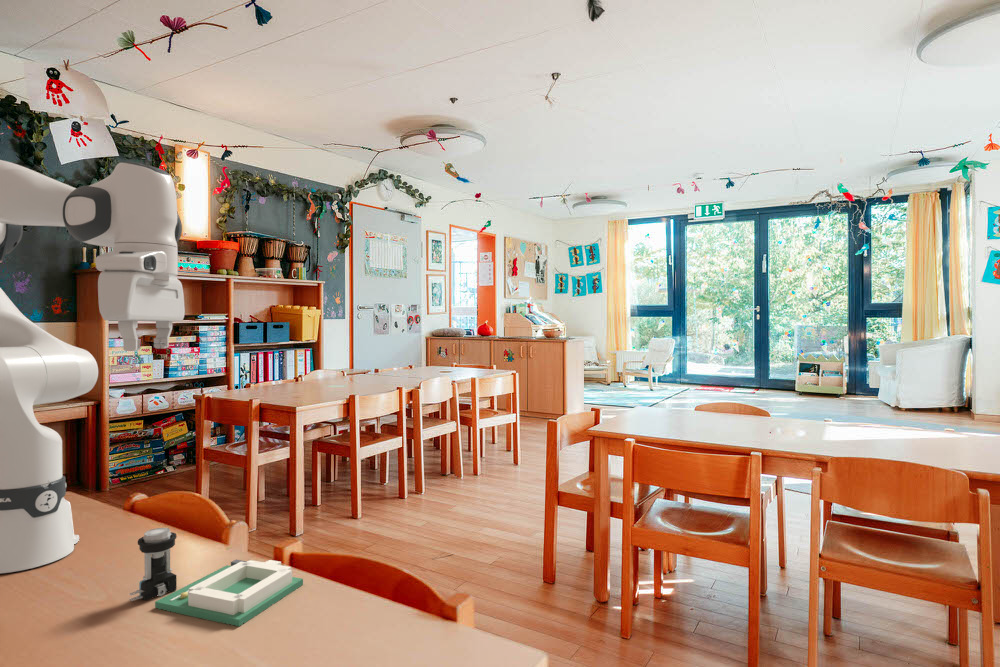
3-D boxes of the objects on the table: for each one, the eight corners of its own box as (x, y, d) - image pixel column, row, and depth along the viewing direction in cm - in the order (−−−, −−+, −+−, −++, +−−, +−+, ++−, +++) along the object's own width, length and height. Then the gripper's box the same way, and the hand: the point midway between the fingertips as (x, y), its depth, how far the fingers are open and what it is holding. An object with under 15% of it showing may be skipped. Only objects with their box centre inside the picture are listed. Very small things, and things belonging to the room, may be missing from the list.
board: (155, 608, 87) (155, 588, 87) (228, 569, 101) (228, 552, 101) (239, 626, 82) (239, 605, 82) (304, 583, 95) (304, 565, 95)
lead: (230, 568, 101) (230, 562, 101) (235, 566, 102) (235, 559, 102) (277, 577, 98) (277, 570, 98) (281, 574, 99) (282, 567, 99)
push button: (138, 608, 87) (137, 543, 87) (122, 599, 90) (122, 535, 90) (183, 592, 92) (182, 530, 92) (167, 583, 95) (166, 523, 95)
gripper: (157, 270, 103) (157, 347, 103) (88, 256, 83) (89, 352, 83) (194, 270, 104) (194, 347, 104) (134, 257, 83) (135, 352, 83)
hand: (147, 349), depth 93 cm, fingers open, 8 cm apart
